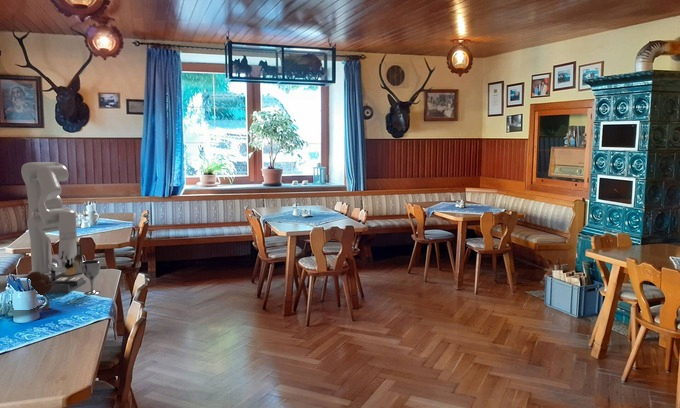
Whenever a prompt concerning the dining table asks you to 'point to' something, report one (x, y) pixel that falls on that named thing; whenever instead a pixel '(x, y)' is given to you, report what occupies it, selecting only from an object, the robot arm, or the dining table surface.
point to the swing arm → (61, 269)
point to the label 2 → (74, 279)
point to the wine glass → (91, 273)
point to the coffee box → (76, 261)
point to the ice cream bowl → (40, 282)
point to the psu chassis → (64, 284)
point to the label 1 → (61, 279)
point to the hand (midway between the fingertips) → (69, 271)
